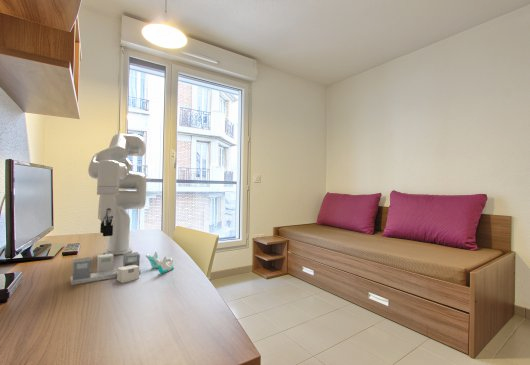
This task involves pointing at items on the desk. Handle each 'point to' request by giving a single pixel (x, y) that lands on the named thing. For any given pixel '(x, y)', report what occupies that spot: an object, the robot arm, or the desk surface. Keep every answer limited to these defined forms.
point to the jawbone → (160, 263)
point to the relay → (128, 273)
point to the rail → (84, 268)
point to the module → (105, 262)
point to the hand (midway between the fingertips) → (106, 234)
